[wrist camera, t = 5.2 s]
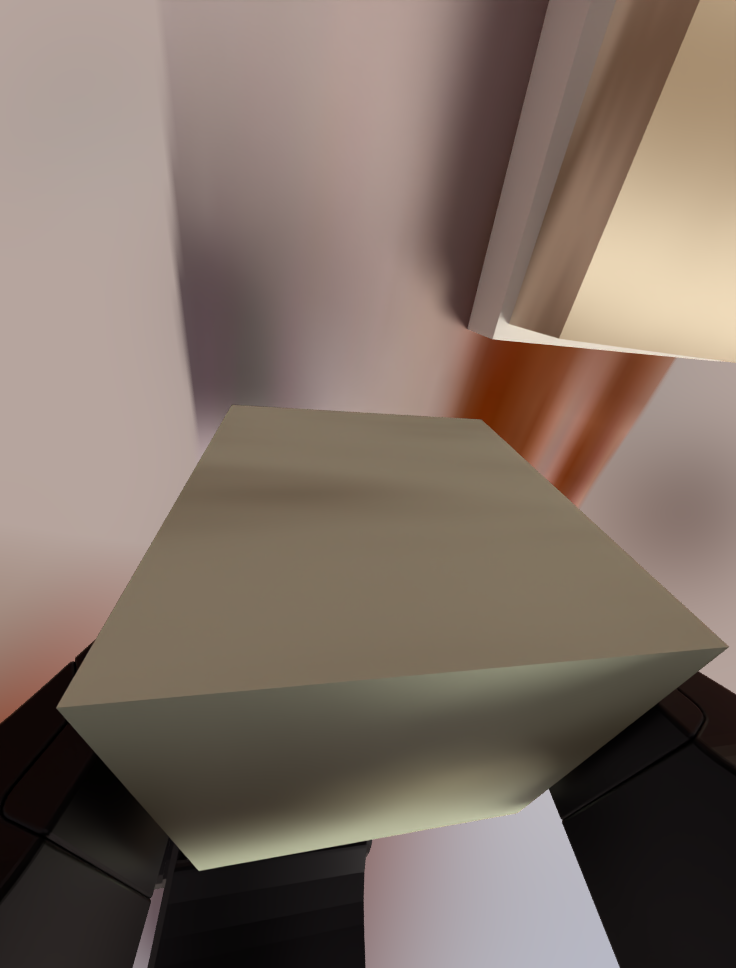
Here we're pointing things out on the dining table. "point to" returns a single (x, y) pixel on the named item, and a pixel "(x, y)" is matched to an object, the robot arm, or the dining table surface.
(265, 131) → the dining table surface
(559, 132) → the bottom slab
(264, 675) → the sage cube
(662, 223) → the top slab
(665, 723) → the robot arm
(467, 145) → the dining table surface
